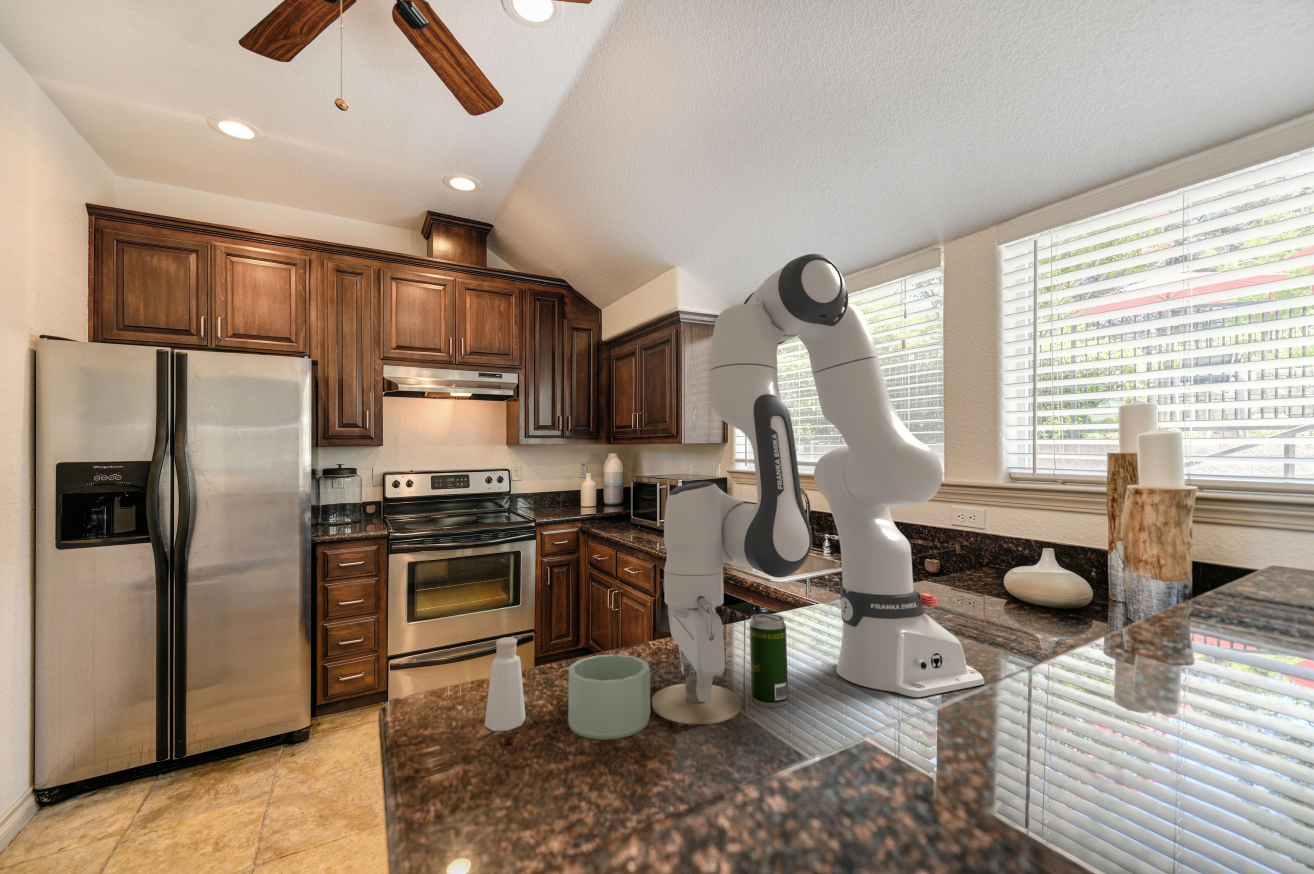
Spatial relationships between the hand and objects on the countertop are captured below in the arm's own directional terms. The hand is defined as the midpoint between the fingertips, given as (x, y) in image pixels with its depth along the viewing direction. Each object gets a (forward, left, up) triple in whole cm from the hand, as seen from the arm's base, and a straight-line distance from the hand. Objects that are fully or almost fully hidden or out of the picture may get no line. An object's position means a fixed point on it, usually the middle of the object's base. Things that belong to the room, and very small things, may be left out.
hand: (695, 686), depth 77 cm
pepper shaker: (+27, +1, -3) cm, 27 cm away
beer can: (-11, +1, -3) cm, 11 cm away
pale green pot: (+13, +3, -2) cm, 13 cm away
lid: (0, 0, -3) cm, 3 cm away
